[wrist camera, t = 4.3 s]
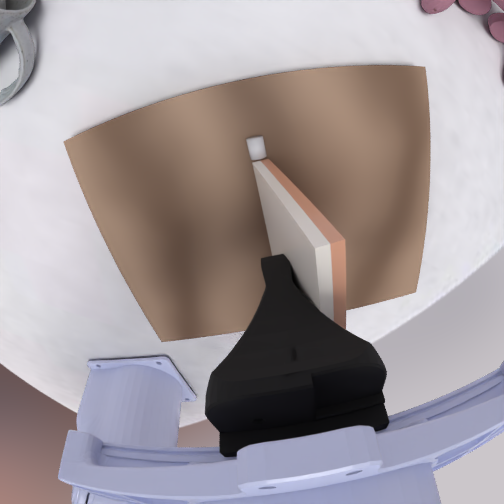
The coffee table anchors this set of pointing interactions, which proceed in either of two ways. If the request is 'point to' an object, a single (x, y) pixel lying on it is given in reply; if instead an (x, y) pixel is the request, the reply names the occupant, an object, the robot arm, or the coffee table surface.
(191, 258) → the board
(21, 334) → the coffee table surface
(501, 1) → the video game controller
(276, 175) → the hinged panel
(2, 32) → the ceramic mug
